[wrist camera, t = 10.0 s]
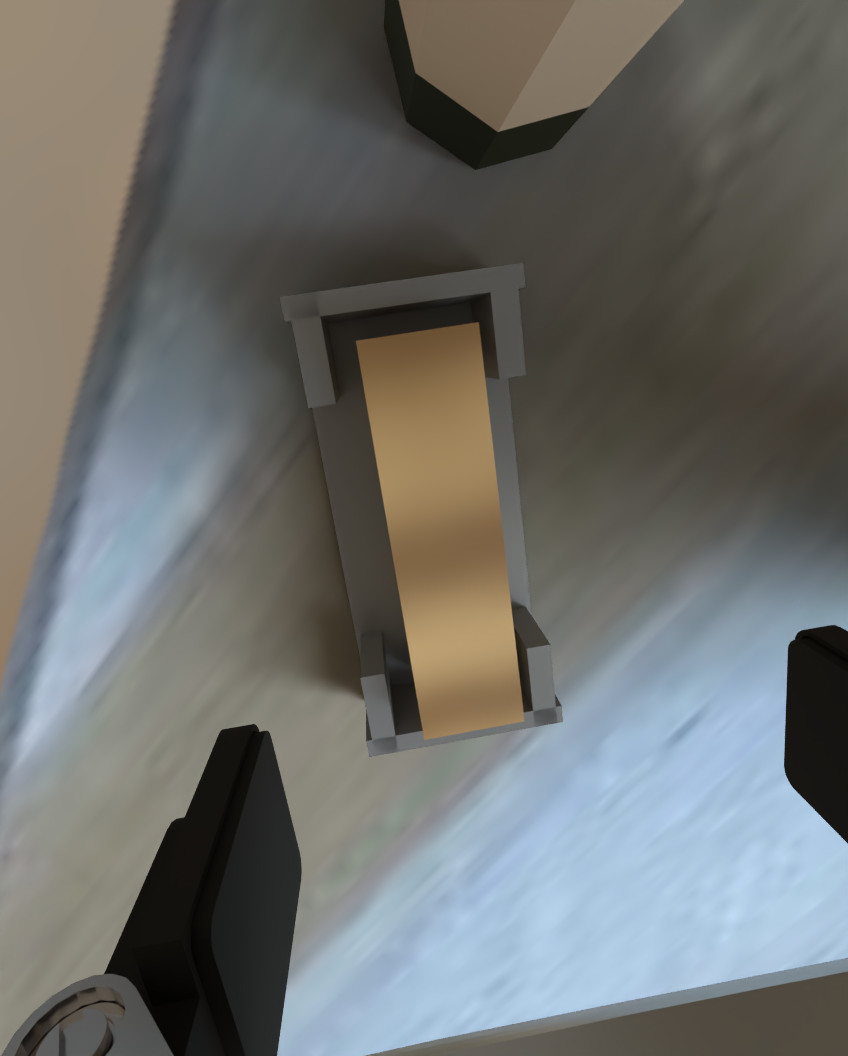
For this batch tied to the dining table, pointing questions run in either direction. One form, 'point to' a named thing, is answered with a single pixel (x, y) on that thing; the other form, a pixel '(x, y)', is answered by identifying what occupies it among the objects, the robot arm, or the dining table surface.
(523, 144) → the wine bottle
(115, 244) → the dining table surface
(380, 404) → the slat
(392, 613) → the end-cap rail
